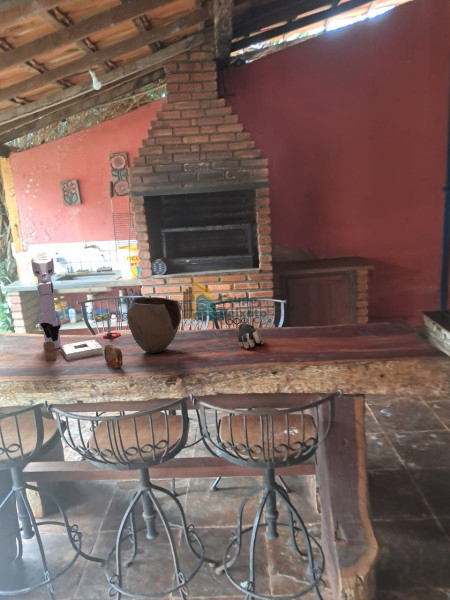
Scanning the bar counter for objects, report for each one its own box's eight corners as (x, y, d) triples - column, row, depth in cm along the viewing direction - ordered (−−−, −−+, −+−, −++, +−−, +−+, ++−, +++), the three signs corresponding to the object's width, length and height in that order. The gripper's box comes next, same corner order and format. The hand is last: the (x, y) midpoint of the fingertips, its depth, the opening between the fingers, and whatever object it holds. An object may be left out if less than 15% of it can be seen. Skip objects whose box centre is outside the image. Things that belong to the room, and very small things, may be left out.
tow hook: (108, 334, 244) (101, 338, 235) (106, 310, 242) (99, 314, 233) (123, 334, 243) (116, 338, 234) (121, 310, 241) (114, 314, 232)
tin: (104, 362, 197) (102, 343, 195) (111, 360, 199) (109, 342, 197) (117, 371, 185) (115, 351, 183) (124, 369, 187) (123, 349, 185)
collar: (61, 351, 216) (60, 345, 215) (94, 345, 223) (94, 339, 222) (67, 360, 202) (66, 353, 201) (102, 353, 209) (102, 347, 209)
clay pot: (120, 353, 208) (115, 300, 203) (161, 341, 225) (157, 291, 220) (153, 363, 191) (148, 306, 187) (194, 349, 209) (190, 296, 204)
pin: (45, 359, 205) (43, 342, 203) (54, 357, 207) (52, 340, 205) (46, 361, 201) (44, 344, 200) (56, 359, 203) (54, 342, 202)
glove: (234, 342, 226) (239, 350, 201) (235, 322, 226) (239, 328, 201) (259, 342, 227) (266, 350, 202) (259, 322, 226) (267, 328, 201)
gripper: (33, 309, 202) (37, 338, 205) (44, 313, 191) (48, 344, 194) (49, 306, 207) (53, 335, 209) (61, 310, 196) (64, 340, 198)
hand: (52, 339), depth 202 cm, fingers open, 7 cm apart
